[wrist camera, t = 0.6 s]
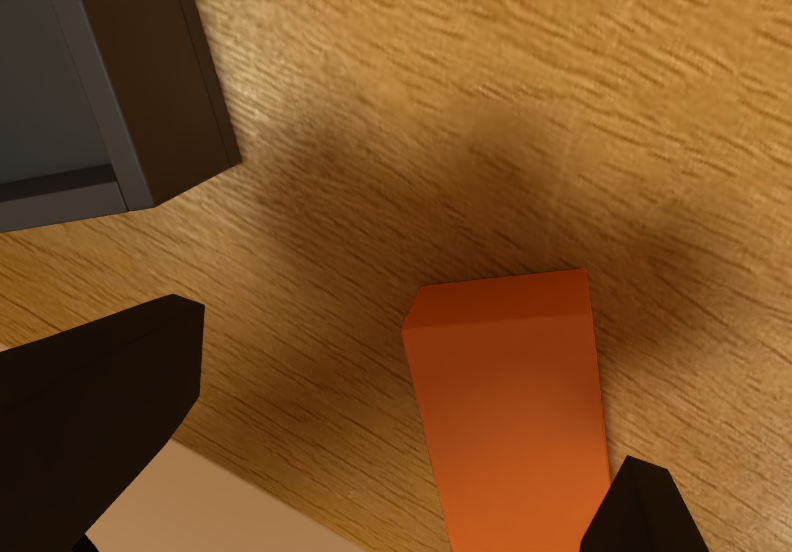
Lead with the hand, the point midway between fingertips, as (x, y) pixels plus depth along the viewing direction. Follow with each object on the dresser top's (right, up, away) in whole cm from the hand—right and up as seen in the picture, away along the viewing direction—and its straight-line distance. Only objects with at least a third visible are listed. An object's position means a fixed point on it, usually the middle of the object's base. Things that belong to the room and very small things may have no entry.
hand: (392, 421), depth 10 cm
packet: (+4, -2, +10) cm, 11 cm away
